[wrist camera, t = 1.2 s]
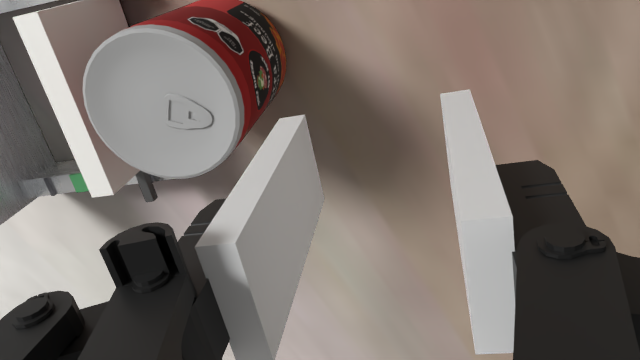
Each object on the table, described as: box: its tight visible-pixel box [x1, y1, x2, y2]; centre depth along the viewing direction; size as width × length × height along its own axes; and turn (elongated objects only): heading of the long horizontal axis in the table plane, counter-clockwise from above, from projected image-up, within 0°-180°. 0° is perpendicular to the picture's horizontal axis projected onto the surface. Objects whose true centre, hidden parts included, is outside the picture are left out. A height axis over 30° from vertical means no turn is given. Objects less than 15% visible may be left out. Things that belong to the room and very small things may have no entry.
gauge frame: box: [0, 0, 170, 225], centre depth 33 cm, size 14×13×10 cm
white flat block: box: [12, 0, 157, 202], centre depth 33 cm, size 13×2×8 cm, turn 12°
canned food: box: [83, 0, 286, 179], centre depth 30 cm, size 8×8×11 cm
